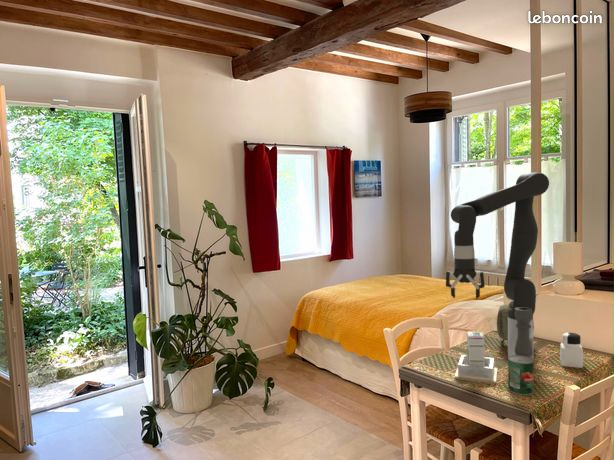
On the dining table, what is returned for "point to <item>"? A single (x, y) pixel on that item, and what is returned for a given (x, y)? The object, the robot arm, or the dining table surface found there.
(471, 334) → the syrup box
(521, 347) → the candle holder
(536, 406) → the dining table surface
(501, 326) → the tabletop clock
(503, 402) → the dining table surface
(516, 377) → the canned tomato
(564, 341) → the medicine bottle
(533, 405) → the dining table surface
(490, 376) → the rectangular hollow frame
